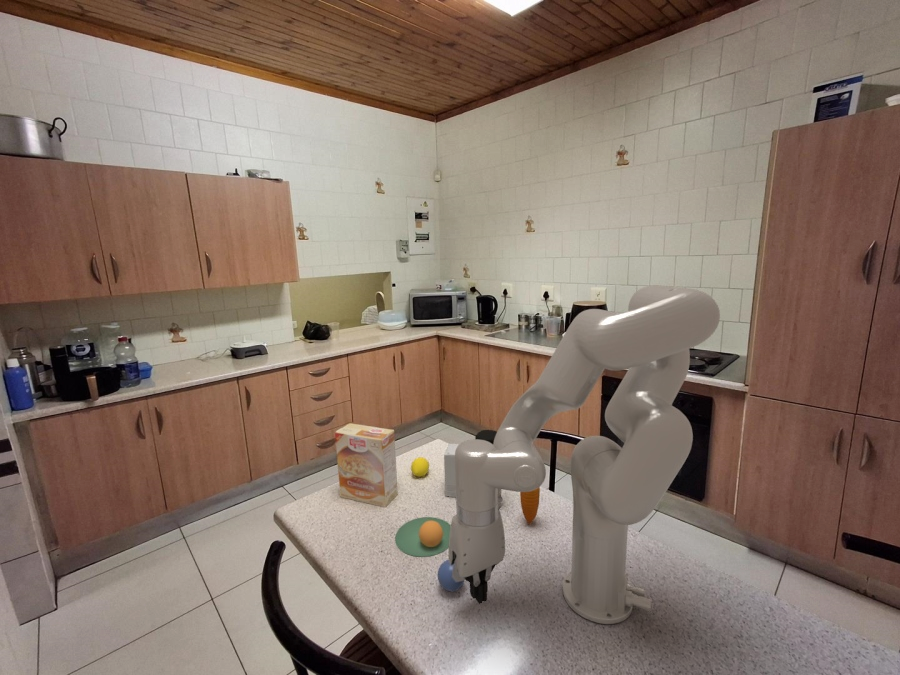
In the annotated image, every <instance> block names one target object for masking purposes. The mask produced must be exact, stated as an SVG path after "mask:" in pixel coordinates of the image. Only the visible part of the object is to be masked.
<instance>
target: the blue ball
mask: <svg viewBox="0 0 900 675" xmlns="http://www.w3.org/2000/svg"><path fill="white" fill-rule="evenodd" d="M453 567H454V565H450V563H449V559H447V560H446V559H445V561H443V562H442V563H441V564H440V565H439V567H438V570H437V581H438V583H439V585H440V586H441V588H442V589H443V590H445V591H447V592H456V591H458V590H460V589H461V588H462V586H464V583H465V581H466V580H464V581H460V582H455V580H454V579H453V578H452V572H453Z"/></svg>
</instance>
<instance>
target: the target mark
mask: <svg viewBox="0 0 900 675" xmlns="http://www.w3.org/2000/svg"><path fill="white" fill-rule="evenodd" d="M427 521H436V522H437V523H439V524H440V526H441V527H442V530H443V537H442V540H441V542H440V543H439V544H438V545H437V546H434V547H427V546H425V545H424V544H422V542H421V541H420V538H419V530H420V528H421V526H422V525H423V524H424V523H425V522H427ZM450 527H451V523H449V522H447V521H446V520H444V519H443V518H442V519H441V518H438V517H433V516H432V517H431V516H424V517H417V518H414V519H411V520H409V521H406V523H404V524H402V525H401V526H400V527H399V528H398V530H397V531H396V533H395V537H394V538H395V540H394V541H395V544H396V547H397V548H398V549H399V550H400V551H401V552H402V553H404V554H406V555H408V556H411V557H418V558H419V557H420V558H427V557H433V556H436V555H439V554H441V553H443V552H445V551H446V550H448V549H449V534H450Z"/></svg>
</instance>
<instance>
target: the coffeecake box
mask: <svg viewBox="0 0 900 675" xmlns="http://www.w3.org/2000/svg"><path fill="white" fill-rule="evenodd" d="M334 437H335V438H334V439H335V448H336V457H337V458H336V459H337V460H336V462H337V472H338V474H337V475H338V483H339V485H338V486H339V494H340V496H339V497H340V498H343V499H347V500H352V501H357V502H360V503H361V502H362V503H365V504H371V505H374V506H377V507H382V508H386V507H387V506H389V504H390V503H391V502H392V501H393V500H394V499H395V498H396V497H397V496H398V494H399V492H398V491H399V490H398V474H397V473H398V472H397V456H396V437H395V430H394V429H389V428H383V427H376V426H370V425H366V424H358V423H357V424H356V423H351V422H349V423H347V424H345V425H344V426H342V427H341V428H338V429H337V430H336V431H334Z"/></svg>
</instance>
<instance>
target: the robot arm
mask: <svg viewBox="0 0 900 675" xmlns="http://www.w3.org/2000/svg"><path fill="white" fill-rule="evenodd" d="M720 313H721V312H720V308H719V305H718V303H717V302H716V300H715V299H714V298H713V297H712V296H711V295H709V294H707V293H706V292H704V291H701V290H699V289H694V288H686V287H676V286H668V285H658V284H657V285H648V286H644V287H642V288H640V289H637V291H636V292H634V293H633V294H632V296H631V297H630V300H629V302H628V307H627V311H624V312H623V311H622V312H620V313H619V312H618V313H617V312H612V311H610V310H604V309H600V308H589V309H586V310H585V309H584V310H583V311H581V312H579V313H578V314H577V315H576V316H575V317H574V318H573V320H572V322H571V323H570V324H569V326H568V328H567V329H566V331H565V333H564V334H563V336H562V338H561V340H560V341H559V343H558V345H557V347H556V349H555V350H554V352H553V353H552V355H551V357H550V358H549V360H548V362H547V364H546V366H545V367H544V368H543V371H541V373H540V375H539V377H538V378H537V380H536V382H535V383H533V384H532V385H531V386H530V387H528V388H527V390H525V392H523V394H521V396H520V397H518V398H517V400H516V401H515V402H514V403H513V405H512V406H511V407H510V409H509V411H508V412H507V414H506V416H505V417H504V419H503V420H502V422H501V424H500V426H499V428H498V429H497V433H496V436H495V439H494V443H493V444H491V443H490V442H488V441H485V440H479V439H468V440H464V441H463V442H461V443H458V444H459V445H458V447H457V448H456V451H455V478H456V497H455V505H456V506H455V507H456V509H455V511H456V514H455V515H453V516H452V518H451V523H450V525H451V527H450V534H449V548H448V549H447V551H448V555H447V556H448V559H447V560H449V563H450V565H454V567H453V572H452V578H453V579H454V580H455V582H460V581H464V580H465V581H467V582H468V583H469V594H470V596H471V597H472V599H475V600H476V602H477V603H478V604H479V605H481V604H483V602H487V601H488V592H489V588H488V587H489V581H490V580H491V578H492V576H491V575H492V572H493V571H494V569H495V567H496V566H497V565H498V564H500V563H501V562H503V560H504V558H505V554H506V536H505V528H504V523H503V518H502V515H501V512H500V510H499V509H498V503H499V502H501V503H502V502H503V496H502V494H501V495H500V494H498V489H501V490H504V491H509V492H517V493H520V492H529V491H533V490H535V489H537V488H539V487H541V486H542V485H543V483H544V482H545V479H546V475H547V469H546V465H545V463H544V460H543V459H542V457H541V454H540V453H539V452H538V451H539V450H537V448H536V445H535V444H534V443H535V441H536V439H537V438H538V435H539V434H540V433H541V431H542V429H543V427H544V426H545V425H546V424H547V422H548V421H550V419H551V418H553V417H554V416H556V415H557V414H559V413H561V412H566V411H572V410H578V409H580V408H581V407H583V406H584V405H585V402H586V401H587V400H588V397H589V396H590V394H591V392H592V391H593V389H594V387H595V386H596V384H597V383H598V381H599V379H600V377H602V374H603V372H604V371H605V370H609V371H616V372H617V371H623V370H627V371H626V373H625V375H624V376H623V378H622V380H621V382H620V383H619V385H618V387H617V388H616V389H615V392H614V394H613V395H612V397H611V399H610V400H609V402H608V404H607V406H606V408H605V412H604V420H605V422H606V426H608V428H609V429H610V431H611V432H612V433H613V434H614V435H615V436H616V437H617V438H618V439H619V440H620V441H621V442H623V446H622V447H621V446H620V445H619V444H618V443H616V442H615V441H614V440H612V439H610V438H608V437H606V436H602V435H590V436H586V437H584V438H583V439H581V440H580V441H579V442H578V443H577V444H576V445H575V447H574V448H573V450H572V453H571V455H570V456H571V457H570V477H571V485H572V497H573V498H572V503H573V506H572V510H573V511H572V532H571V534H572V537H571V541H572V542H571V544H572V545H571V571H569V572H568V573H567V574H566V575H565V577H564V578H563V581H562V594H563V597H564V600H565V602H566V603H567V605H568V606H569V607H570V608H571V609H572V610H573V611H574V612H575V613H576V614H578V615H579V616H581V617H582V618H584V619H586V620H588V621H591V622H593V623H597V624H604V625H611V624H612V625H613V624H618V623H622V622H623V621H625V620H626V619H627V618H629V616H630V615H631V614H632V611H633V608H634V607H637V608H639V609H640V610H644V611H647V612H652V599H651V598H647V597H645V588H643V587H639V586H635V585H632V583H631V582H629V580H628V578H629V574H627V573H626V571H627V570H626V569H627V568H626V567H627V552H628V550H627V549H628V534H629V533H628V532H629V526H632V525H634V524H635V525H636V524H637V523H640V522H642V521H643V520H645V519H646V518H647V517H649V515H651V513H653V511H654V510H655V509H656V507H657V506H658V504H659V503H660V502H661V500H662V499H663V497H664V496H665V494H666V492H667V491H668V489H669V488H670V486H671V485H672V483H673V481H674V480H675V478H676V476H677V475H678V473H679V472H680V470H681V468H682V467H683V465H685V462H686V460H687V458H688V457H689V454H690V453H691V451H692V446H693V440H694V439H693V438H694V435H693V429H692V425H691V422H690V421H689V419H688V418H687V416H686V415H685V414H684V413H683V412H682V411H681V410H680V409H678V408H676V407H675V406H673V403H674V401H675V399H676V397H677V395H678V394H679V391H680V389H681V387H682V386H683V384H684V382H685V380H686V378H687V376H688V373H689V368H690V364H691V357H690V356H691V355H690V354H691V352H690V349H692V348H694V347H697V346H699V345H700V344H702V343H704V342H706V341H707V340H708V339H709V338H710V337H711V336H712V335H713V334H714V333H715V331H716V330H717V329H718V327H719V326H718V325H719V323H720V318H721V314H720ZM465 581H464V582H465Z"/></svg>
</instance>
